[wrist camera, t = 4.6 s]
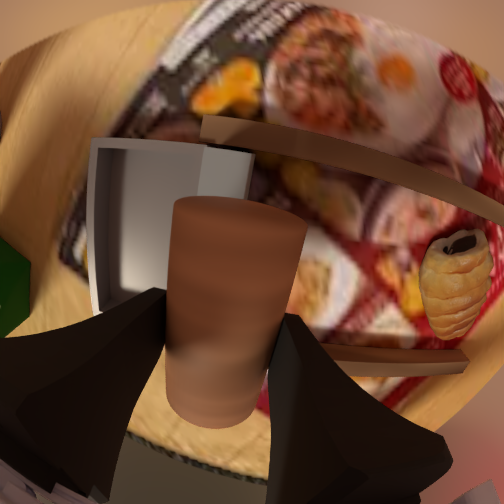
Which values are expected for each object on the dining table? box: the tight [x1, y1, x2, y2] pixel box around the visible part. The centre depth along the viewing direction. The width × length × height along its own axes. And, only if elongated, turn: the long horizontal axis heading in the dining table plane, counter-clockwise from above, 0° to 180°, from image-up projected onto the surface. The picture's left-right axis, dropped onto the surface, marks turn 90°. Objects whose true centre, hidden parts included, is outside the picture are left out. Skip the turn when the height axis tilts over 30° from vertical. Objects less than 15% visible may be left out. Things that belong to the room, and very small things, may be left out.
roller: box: [165, 196, 308, 429], centre depth 10 cm, size 8×4×4 cm, turn 169°
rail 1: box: [199, 115, 504, 227], centre depth 15 cm, size 2×26×2 cm, turn 80°
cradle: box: [86, 137, 216, 316], centre depth 16 cm, size 12×7×2 cm, turn 170°
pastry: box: [419, 229, 494, 340], centre depth 16 cm, size 9×7×4 cm
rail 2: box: [320, 343, 470, 377], centre depth 19 cm, size 2×26×2 cm, turn 80°
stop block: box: [197, 147, 256, 200], centre depth 15 cm, size 12×2×5 cm, turn 170°
